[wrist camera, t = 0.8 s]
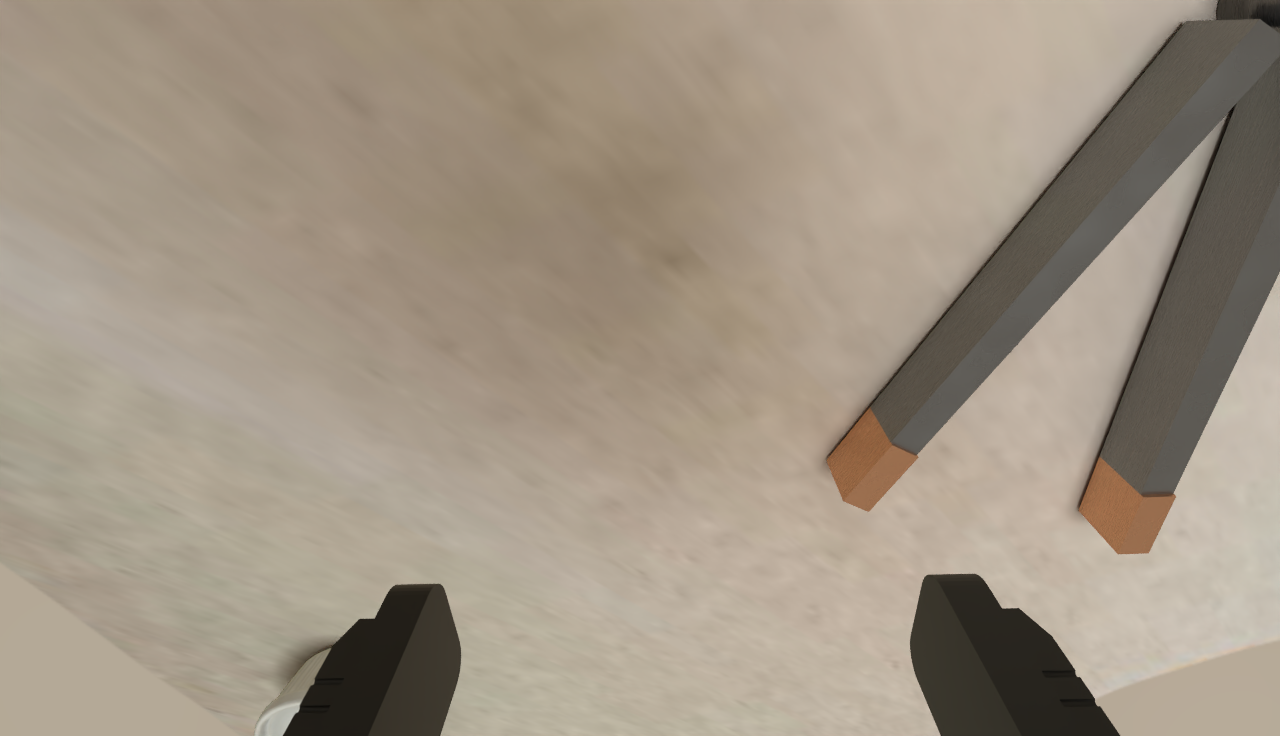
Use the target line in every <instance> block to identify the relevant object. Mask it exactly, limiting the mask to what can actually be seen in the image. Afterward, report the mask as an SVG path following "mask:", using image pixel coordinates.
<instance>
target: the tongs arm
mask: <svg viewBox="0 0 1280 736" xmlns="http://www.w3.org/2000/svg"><path fill="white" fill-rule="evenodd" d="M1279 56H1280V34H1279V33H1278V32H1277V31H1275V30H1274V29H1273V28H1271V27H1270V26H1269V25H1267V24H1266V23H1265V22H1263V21H1262V20H1261V19H1243V20H1209V21H1186V22H1185V23H1184V25H1183V26H1182V27H1181V28H1180V30H1179V31H1178V32H1177V33H1176V34H1175V36H1174V37H1173V38H1172V39H1171V41H1170V42H1169V43H1168V44H1167V45H1166V47H1165V48H1164V49H1163V50H1162V52H1161V53H1160V54H1159V55H1158V56H1157V58H1156V59H1155V60H1154V61H1153V62H1152V64H1151V65H1150V66H1149V67H1148V69H1147V70H1146V71H1145V72H1144V73H1143V75H1142V76H1141V77H1140V78H1139V80H1138V81H1137V82H1136V83H1135V84H1134V86H1133V87H1132V88H1131V89H1130V91H1129V92H1128V93H1127V94H1126V95H1125V97H1124V98H1123V99H1122V100H1121V102H1120V103H1119V104H1118V105H1117V106H1116V108H1115V109H1114V110H1113V111H1112V112H1111V114H1110V115H1109V116H1108V117H1107V119H1106V120H1105V121H1104V122H1103V123H1102V125H1101V126H1100V127H1099V128H1098V130H1097V131H1096V132H1095V133H1094V134H1093V136H1092V137H1091V138H1090V139H1089V141H1088V142H1087V143H1086V144H1085V145H1084V147H1083V148H1082V149H1081V150H1080V152H1079V153H1078V154H1077V155H1076V156H1075V158H1074V159H1073V160H1072V161H1071V163H1070V164H1069V165H1068V166H1067V167H1066V169H1065V170H1064V171H1063V172H1062V173H1061V175H1060V176H1059V177H1058V178H1057V180H1056V181H1055V182H1054V183H1053V184H1052V186H1051V187H1050V188H1049V189H1048V191H1047V192H1046V193H1045V194H1044V195H1043V197H1042V198H1041V199H1040V200H1039V202H1038V203H1037V204H1036V205H1035V206H1034V208H1033V209H1032V210H1031V211H1030V213H1029V214H1028V215H1027V216H1026V217H1025V219H1024V220H1023V221H1022V222H1021V223H1020V225H1019V226H1018V227H1017V228H1016V230H1015V231H1014V232H1013V233H1012V234H1011V236H1010V237H1009V238H1008V239H1007V241H1006V242H1005V243H1004V244H1003V245H1002V247H1001V248H1000V249H999V250H998V252H997V253H996V254H995V255H994V256H993V258H992V259H991V260H990V261H989V263H988V264H987V265H986V266H985V267H984V269H983V270H982V271H981V272H980V274H979V275H978V276H977V277H976V278H975V280H974V281H973V282H972V283H971V284H970V286H969V287H968V288H967V289H966V291H965V292H964V293H963V294H962V295H961V297H960V298H959V299H958V300H957V302H956V303H955V304H954V305H953V306H952V308H951V309H950V310H949V311H948V313H947V314H946V315H945V316H944V317H943V319H942V320H941V321H940V322H939V324H938V325H937V326H936V327H935V328H934V330H933V331H932V332H931V333H930V334H929V336H928V337H927V338H926V339H925V341H924V342H923V343H922V344H921V345H920V347H919V348H918V349H917V350H916V352H915V353H914V354H913V355H912V356H911V358H910V359H909V360H908V361H907V363H906V364H905V365H904V366H903V367H902V369H901V370H900V371H899V372H898V374H897V375H896V376H895V377H894V378H893V380H892V381H891V382H890V383H889V385H888V386H887V387H886V388H885V389H884V391H883V392H882V393H881V394H880V395H879V397H878V398H877V399H876V400H875V402H874V403H873V404H872V405H871V406H870V408H869V409H868V410H867V411H866V413H865V414H864V415H863V416H862V417H861V419H860V420H859V421H858V422H857V424H856V425H855V426H854V427H853V428H852V430H851V431H850V432H849V433H848V435H847V436H846V437H845V438H844V439H843V441H842V442H841V443H840V444H839V445H838V447H837V448H836V449H835V450H834V452H833V453H832V454H831V455H830V456H829V458H828V459H827V463H828V465H829V468H830V470H831V473H832V475H833V477H834V480H835V482H836V485H837V487H838V489H839V492H840V494H841V497H842V499H843V501H844V502H847V503H849V504H851V505H854V506H856V507H858V508H861V509H863V510H865V511H868V512H869V511H870V510H871V509H872V508H873V507H874V505H875V504H876V503H877V502H878V501H879V500H880V499H881V498H882V497H883V496H884V494H885V493H886V492H887V491H888V490H889V489H890V488H891V487H892V486H893V485H894V484H895V482H896V481H897V480H898V479H899V478H900V477H901V476H902V475H903V474H904V473H905V471H906V470H907V469H908V468H909V467H910V466H911V465H912V464H913V463H914V462H915V461H916V459H917V458H918V456H917V454H918V453H919V452H920V451H921V450H922V449H923V447H924V446H925V445H926V444H927V443H928V442H929V441H930V440H931V439H932V438H933V436H934V435H935V434H936V433H937V432H938V431H939V430H940V429H941V428H942V427H943V425H944V424H945V423H946V422H947V421H948V420H949V419H950V418H951V417H952V416H953V414H954V413H955V412H956V411H957V410H958V409H959V408H960V407H961V406H962V405H963V403H964V402H965V401H966V400H967V399H968V398H969V397H970V396H971V395H972V394H973V392H974V391H975V390H976V389H977V388H978V387H979V386H980V385H981V384H982V383H983V381H984V380H985V379H986V378H987V377H988V376H989V375H990V374H991V373H992V372H993V370H994V369H995V368H996V367H997V366H998V365H999V364H1000V363H1001V362H1002V361H1003V359H1004V358H1005V357H1006V356H1007V355H1008V354H1009V353H1010V352H1011V351H1012V350H1013V348H1014V347H1015V346H1016V345H1017V344H1018V343H1019V342H1020V341H1021V340H1022V339H1023V337H1024V336H1025V335H1026V334H1027V333H1028V332H1029V331H1030V330H1031V329H1032V328H1033V326H1034V325H1035V324H1036V323H1037V322H1038V321H1039V320H1040V319H1041V318H1042V317H1043V315H1044V314H1045V313H1046V312H1047V311H1048V310H1049V309H1050V308H1051V307H1052V306H1053V304H1054V303H1055V302H1056V301H1057V300H1058V299H1059V298H1060V297H1061V296H1062V295H1063V293H1064V292H1065V291H1066V290H1067V289H1068V288H1069V287H1070V286H1071V285H1072V284H1073V282H1074V281H1075V280H1076V279H1077V278H1078V277H1079V276H1080V275H1081V274H1082V273H1083V271H1084V270H1085V269H1086V268H1087V267H1088V266H1089V265H1090V264H1091V263H1092V262H1093V260H1094V259H1095V258H1096V257H1097V256H1098V255H1099V254H1100V253H1101V252H1102V251H1103V249H1104V248H1105V247H1106V246H1107V245H1108V244H1109V243H1110V242H1111V241H1112V240H1113V238H1114V237H1115V236H1116V235H1117V234H1118V233H1119V232H1120V231H1121V230H1122V229H1123V227H1124V226H1125V225H1126V224H1127V223H1128V222H1129V221H1130V220H1131V219H1132V218H1133V216H1134V215H1135V214H1136V213H1137V212H1138V211H1139V210H1140V209H1141V208H1142V207H1143V205H1144V204H1145V203H1146V202H1147V201H1148V200H1149V199H1150V198H1151V197H1152V196H1153V194H1154V193H1155V192H1156V191H1157V190H1158V189H1159V188H1160V187H1161V186H1162V185H1163V183H1164V182H1165V181H1166V180H1167V179H1168V178H1169V177H1170V176H1171V175H1172V174H1173V172H1174V171H1175V170H1176V169H1177V168H1178V167H1179V166H1180V165H1181V164H1182V163H1183V161H1184V160H1185V159H1186V158H1187V157H1188V156H1189V155H1190V154H1191V153H1192V152H1193V150H1194V149H1195V148H1196V147H1197V146H1198V145H1199V144H1200V143H1201V142H1202V141H1203V139H1204V138H1205V137H1206V136H1207V135H1208V134H1209V133H1210V132H1211V131H1212V130H1213V128H1214V127H1215V126H1216V125H1217V124H1218V123H1219V122H1220V121H1221V120H1222V119H1223V117H1224V116H1225V115H1226V114H1227V113H1228V112H1229V111H1230V110H1231V109H1232V108H1233V106H1234V105H1235V104H1236V103H1237V102H1238V101H1239V100H1240V99H1241V98H1242V97H1243V95H1244V94H1245V93H1246V92H1247V91H1248V90H1249V89H1250V88H1251V87H1252V86H1253V84H1254V83H1255V82H1256V81H1257V80H1258V79H1259V78H1260V77H1261V76H1262V75H1263V73H1264V72H1265V71H1266V70H1267V69H1268V68H1269V67H1270V66H1271V65H1272V64H1273V62H1274V61H1275V60H1276V59H1277V58H1278V57H1279Z"/></svg>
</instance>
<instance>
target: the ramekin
mask: <svg viewBox="0 0 1280 736" xmlns="http://www.w3.org/2000/svg"><path fill="white" fill-rule="evenodd" d="M330 650H331V648H329V649H326V650H324V651H322V652H320V653H318V654H316V655H314V656H313V657H312V658H310V659H309V660H307V661H306V663H305V664H304V665H303V666H302V667H301V668H300V669H299V671H298V672H297V673H296V674H295V676H294V677H293V678H292V679H291V681H290V682H289V683H288V684H287V686H286V687H285V688H284V690H283V691H282V692H281V694H280V695H279V696H278V697H277V699H275V700H274V701H272V702H271V703H270V704H269V705H268V706H267V707H266V708H265V710H264V711H263V712H262V714H261V716H260V717H259V719H258V721H257V724H256V726H255V731H254V736H283V734H284V732H285V731H286V729H287V727H288V725H289V723H290V722H291V720H292V718H293V716H294V714H295V713H298V712H299V709H300V706H299V705H300V704H301V702H302V700H303V698H304V696H305V695H306V693H307V691H308V689H309V687H310V686H311V685H313V684H314V682H315V679H314V678H315V677H316V675H317V673H318V671H319V670H320V668H321V666H322V664H323V662H324V661H325V659H326V657H327V655H328V653H329V652H330Z"/></svg>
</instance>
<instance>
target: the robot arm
mask: <svg viewBox="0 0 1280 736" xmlns="http://www.w3.org/2000/svg"><path fill="white" fill-rule="evenodd" d="M910 650H911V658H912V663H913V667H914V671H915V674H916V677H917V680H918V682H919V685H920V687H921V689H922V692H923V694H924V697H925V699H926V701H927V704H928V706H929V708H930V711H931V713H932V716H933V718H934V720H935V723H936V725H937V727H938V730H939V732H940V735H941V736H1120V735H1119V733H1118V732H1117V730H1116V729H1115V727H1114V726H1113V724H1112V723H1111V722H1110V720H1109V719H1108V717H1107V716H1106V714H1105V713H1104V711H1103V710H1102V708H1101V707H1100V706H1099V707H1098V706H1097V705H1096V703H1095V698H1094V697H1093V695H1092V694H1091V692H1090V691H1089V689H1088V688H1087V687H1086V685H1085V684H1084V682H1083V681H1082V679H1081V678H1080V677H1077V676H1076V674H1075V669H1074V668H1073V666H1072V665H1071V663H1070V662H1069V660H1068V659H1067V657H1066V656H1065V655H1064V653H1063V652H1062V650H1061V649H1060V647H1059V646H1058V644H1057V643H1056V641H1055V640H1054V639H1053V637H1052V636H1051V635H1050V634H1049V633H1047V632H1046V631H1045V630H1044V629H1043V628H1041V627H1040V626H1039V625H1038V624H1037V623H1036V622H1034V621H1033V620H1032V619H1031V618H1030V617H1029V616H1027V615H1026V614H1025V613H1024V612H1023V611H1021V610H1020V609H1019V608H1010V609H1002V608H1001V606H1000V604H999V603H998V601H997V600H996V598H995V596H994V595H993V593H992V592H991V590H990V589H989V587H988V585H987V584H986V583H985V581H984V580H983V579H982V578H981V577H980V576H979V575H977V574H942V575H927V576H925V578H924V580H923V582H922V587H921V591H920V596H919V600H918V605H917V610H916V614H915V619H914V623H913V628H912V632H911V638H910ZM460 665H461V647H460V641H459V638H458V634H457V631H456V627H455V624H454V620H453V617H452V613H451V610H450V606H449V603H448V600H447V596H446V593H445V590H444V588H443V586H442V585H441V584H407V585H395V586H393V587H392V588H391V589H390V591H389V592H388V594H387V595H386V597H385V599H384V601H383V603H382V605H381V607H380V609H379V611H378V613H377V615H376V617H375V619H359V620H358V621H357V622H356V623H355V624H354V625H353V626H352V627H351V628H350V629H349V630H348V631H347V632H346V633H345V634H344V635H343V636H342V637H341V638H340V639H339V640H338V641H337V642H336V643H335V644H334V645H333V646H332V648H331V650H330V652H329V653H328V655H327V657H326V659H325V661H324V662H323V664H322V666H321V668H320V670H319V671H318V673H317V675H316V677H315V678H314V679H315V682H314V684H313V685H311V686H310V687H309V689H308V691H307V693H306V695H305V696H304V698H303V700H302V702H301V704H300V705H299V706H300V709H299V712H298V713H295V714H294V716H293V718H292V720H291V722H290V723H289V725H288V727H287V729H286V731H285V732H284V734H283V736H440V734H441V731H442V728H443V725H444V722H445V719H446V716H447V713H448V710H449V707H450V704H451V700H452V697H453V694H454V691H455V688H456V685H457V681H458V677H459V672H460Z"/></svg>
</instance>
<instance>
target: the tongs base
mask: <svg viewBox="0 0 1280 736" xmlns="http://www.w3.org/2000/svg"><path fill="white" fill-rule="evenodd" d="M1243 19H1261V20H1262V21H1263V22H1265V23H1266V24H1267V25H1269V26H1270V27H1271V28H1273V29H1274V30H1275V31H1277V32H1278V33H1279V34H1280V0H1219V3H1218V8H1217V20H1243ZM1279 272H1280V56H1279V57H1278V58H1277V59H1276V60H1275V61H1274V62H1273V64H1272V65H1271V66H1270V67H1269V68H1268V69H1267V70H1266V71H1265V72H1264V73H1263V75H1262V76H1261V77H1260V78H1259V79H1258V80H1257V81H1256V82H1255V83H1254V84H1253V86H1252V87H1251V88H1250V89H1249V90H1248V91H1247V92H1246V93H1245V94H1244V95H1243V97H1242V98H1241V99H1240V100H1239V101H1238V102H1237V103H1236V106H1235V108H1234V111H1233V114H1232V116H1231V119H1230V121H1229V124H1228V126H1227V129H1226V132H1225V134H1224V137H1223V139H1222V142H1221V145H1220V147H1219V150H1218V152H1217V155H1216V157H1215V160H1214V163H1213V165H1212V168H1211V170H1210V173H1209V175H1208V178H1207V181H1206V183H1205V186H1204V188H1203V191H1202V194H1201V196H1200V199H1199V201H1198V204H1197V206H1196V209H1195V212H1194V214H1193V217H1192V219H1191V222H1190V224H1189V227H1188V230H1187V232H1186V235H1185V237H1184V240H1183V243H1182V245H1181V248H1180V250H1179V253H1178V255H1177V258H1176V261H1175V263H1174V266H1173V268H1172V271H1171V273H1170V276H1169V279H1168V281H1167V284H1166V286H1165V289H1164V292H1163V294H1162V297H1161V299H1160V302H1159V304H1158V307H1157V310H1156V312H1155V315H1154V317H1153V320H1152V322H1151V325H1150V328H1149V330H1148V333H1147V335H1146V338H1145V341H1144V343H1143V346H1142V348H1141V351H1140V353H1139V356H1138V359H1137V361H1136V364H1135V366H1134V369H1133V371H1132V374H1131V377H1130V379H1129V382H1128V384H1127V387H1126V390H1125V392H1124V395H1123V397H1122V400H1121V402H1120V405H1119V408H1118V410H1117V413H1116V415H1115V418H1114V420H1113V423H1112V426H1111V428H1110V431H1109V433H1108V436H1107V438H1106V441H1105V444H1104V446H1103V449H1102V451H1101V454H1100V457H1099V459H1098V462H1097V464H1096V467H1095V469H1094V472H1093V475H1092V477H1091V480H1090V482H1089V485H1088V487H1087V490H1086V493H1085V495H1084V498H1083V500H1082V503H1081V506H1080V508H1079V512H1080V513H1081V514H1082V515H1083V516H1084V517H1085V518H1086V519H1087V520H1088V522H1089V523H1090V524H1091V525H1092V526H1093V527H1094V528H1095V529H1096V530H1097V532H1098V533H1099V534H1100V535H1101V536H1102V537H1103V538H1104V539H1105V540H1106V542H1107V543H1108V544H1109V545H1110V546H1111V547H1112V548H1113V549H1114V550H1115V551H1116V553H1117V554H1139V553H1149V551H1150V549H1151V547H1152V545H1153V543H1154V541H1155V539H1156V537H1157V535H1158V533H1159V531H1160V529H1161V526H1162V524H1163V522H1164V520H1165V518H1166V516H1167V514H1168V512H1169V510H1170V508H1171V506H1172V504H1173V502H1174V500H1175V498H1176V496H1175V495H1174V494H1173V493H1174V491H1175V489H1176V487H1177V485H1178V482H1179V480H1180V478H1181V476H1182V474H1183V472H1184V470H1185V468H1186V466H1187V464H1188V462H1189V460H1190V458H1191V455H1192V453H1193V451H1194V449H1195V447H1196V445H1197V443H1198V441H1199V439H1200V437H1201V435H1202V433H1203V430H1204V428H1205V426H1206V424H1207V422H1208V420H1209V418H1210V416H1211V414H1212V412H1213V410H1214V408H1215V405H1216V403H1217V401H1218V399H1219V397H1220V395H1221V393H1222V391H1223V389H1224V387H1225V385H1226V383H1227V381H1228V378H1229V376H1230V374H1231V372H1232V370H1233V368H1234V366H1235V364H1236V362H1237V360H1238V358H1239V356H1240V353H1241V351H1242V349H1243V347H1244V345H1245V343H1246V341H1247V339H1248V337H1249V335H1250V333H1251V331H1252V329H1253V326H1254V324H1255V322H1256V320H1257V318H1258V316H1259V314H1260V312H1261V310H1262V308H1263V306H1264V304H1265V301H1266V299H1267V297H1268V295H1269V293H1270V291H1271V289H1272V287H1273V285H1274V283H1275V281H1276V279H1277V276H1278V274H1279Z"/></svg>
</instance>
